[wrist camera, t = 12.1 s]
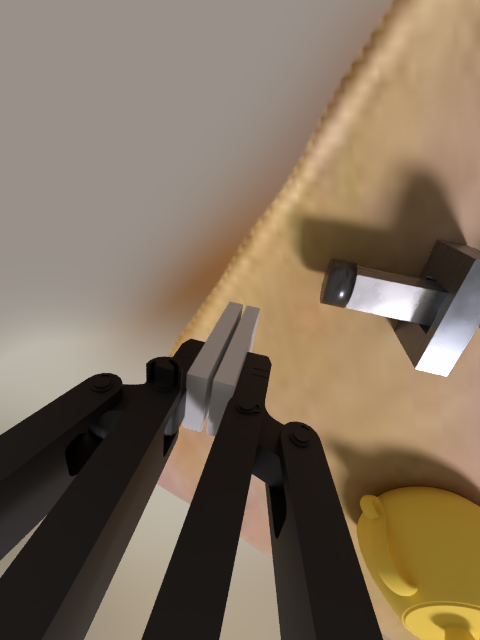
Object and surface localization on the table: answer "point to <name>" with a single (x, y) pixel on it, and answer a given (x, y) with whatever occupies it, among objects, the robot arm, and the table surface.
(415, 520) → the teapot
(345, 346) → the table surface
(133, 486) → the robot arm
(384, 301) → the shaft
